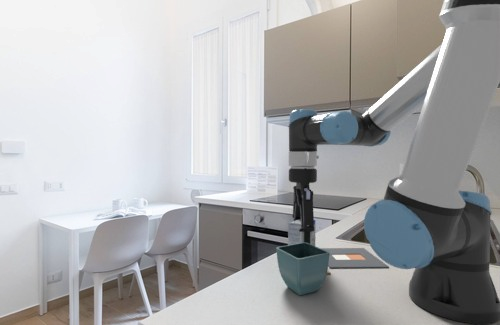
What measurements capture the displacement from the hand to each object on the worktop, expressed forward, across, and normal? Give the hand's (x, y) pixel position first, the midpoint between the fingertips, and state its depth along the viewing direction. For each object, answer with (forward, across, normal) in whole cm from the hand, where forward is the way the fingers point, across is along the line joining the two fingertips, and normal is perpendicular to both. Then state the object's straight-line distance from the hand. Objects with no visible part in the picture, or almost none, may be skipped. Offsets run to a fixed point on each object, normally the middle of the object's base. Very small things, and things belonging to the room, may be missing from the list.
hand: (302, 250), depth 78 cm
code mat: (+4, +6, -15) cm, 17 cm away
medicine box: (+1, 0, 0) cm, 1 cm away
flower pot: (+4, -14, +3) cm, 15 cm away
